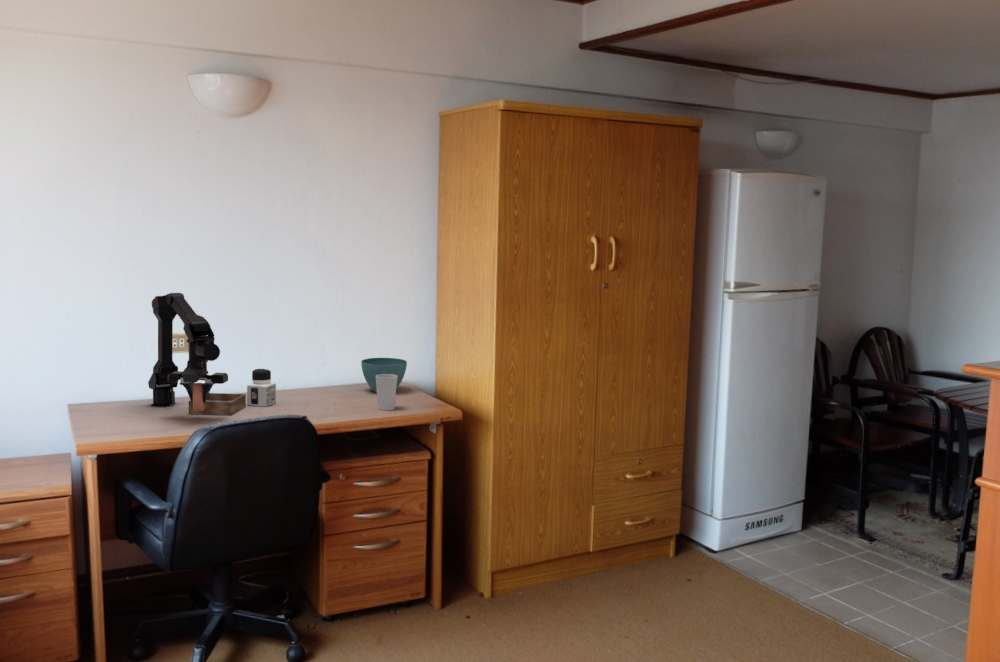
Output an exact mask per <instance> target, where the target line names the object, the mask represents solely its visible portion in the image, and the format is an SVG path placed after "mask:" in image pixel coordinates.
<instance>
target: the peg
mask: <svg viewBox="0 0 1000 662" xmlns="http://www.w3.org/2000/svg"><path fill="white" fill-rule="evenodd" d="M204 383H205V382H195V383H193V411H203V410H204V403H203V385H202V384H204Z"/></svg>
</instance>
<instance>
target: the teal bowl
mask: <svg viewBox="0 0 1000 662" xmlns="http://www.w3.org/2000/svg"><path fill="white" fill-rule="evenodd" d="M407 364H408V361H407V360H405V359H402V358H396V357H373V358H372V357H370V358H365V359H362V360H361V362H360V365H361V370H362V374H363V377H364V379H365V382H366V383H367V385H368V386H369V388H370V389H371V390H372V391H373V392H375V393H377V389H376V375H380V374H393V375H397V376H398V377H397V387H396V389H397V388H398V387H399V385H400V384H401V383H402V381H403V379H404V377H405V374H406V371H407V366H408V365H407Z"/></svg>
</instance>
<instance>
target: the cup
mask: <svg viewBox="0 0 1000 662" xmlns="http://www.w3.org/2000/svg"><path fill="white" fill-rule="evenodd" d="M397 377H398V376H397V375H393V374H380V375H376V389H377V392H376V399H377V409H378V410H380V409H381V411H392V410H395V409H396V396H397V388H398V387H397ZM396 387H397V388H396Z"/></svg>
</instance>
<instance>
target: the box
mask: <svg viewBox="0 0 1000 662" xmlns="http://www.w3.org/2000/svg"><path fill="white" fill-rule="evenodd" d="M246 399H247V394H246V393H226V392H225V393H219V392H209V394H208V397H207V399H206V402H205V403H204V410H203V411H193V403H192V402H191V400H188V414H189V415H208V416H209V415H210V416H212V415H214V416H233V415H235V414H237V413H238V412H239V411H241V410H242V409H244V408H245V407H246V406H247V403H246V402H247V400H246Z"/></svg>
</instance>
